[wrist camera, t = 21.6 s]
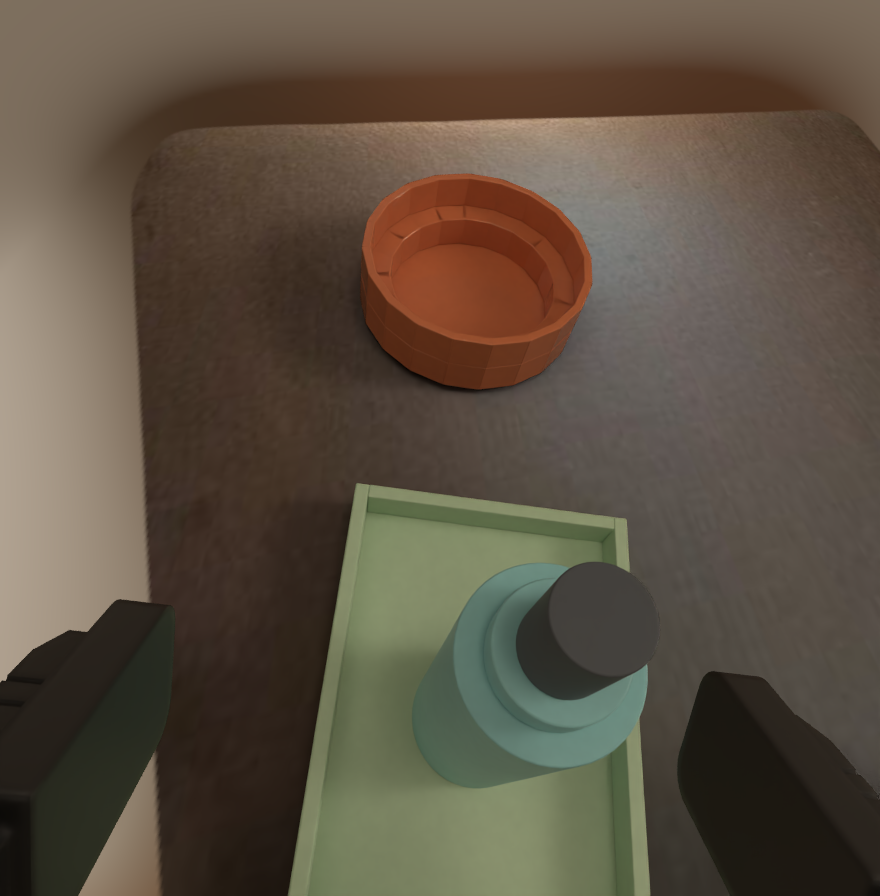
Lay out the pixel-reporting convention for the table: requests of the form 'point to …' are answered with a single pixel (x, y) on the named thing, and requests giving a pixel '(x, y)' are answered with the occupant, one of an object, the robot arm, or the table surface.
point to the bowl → (472, 279)
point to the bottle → (537, 674)
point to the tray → (391, 731)
